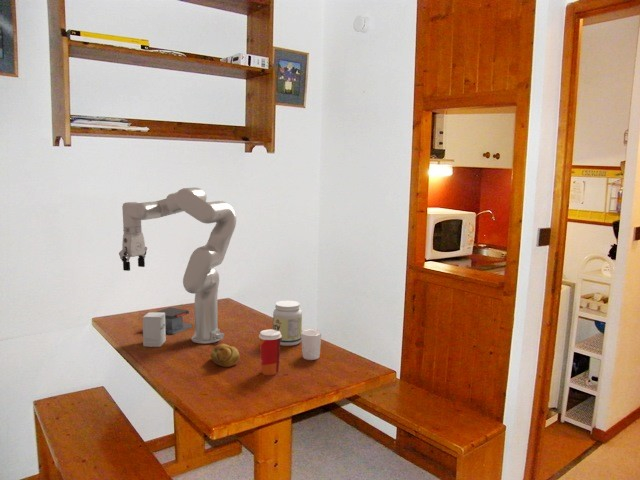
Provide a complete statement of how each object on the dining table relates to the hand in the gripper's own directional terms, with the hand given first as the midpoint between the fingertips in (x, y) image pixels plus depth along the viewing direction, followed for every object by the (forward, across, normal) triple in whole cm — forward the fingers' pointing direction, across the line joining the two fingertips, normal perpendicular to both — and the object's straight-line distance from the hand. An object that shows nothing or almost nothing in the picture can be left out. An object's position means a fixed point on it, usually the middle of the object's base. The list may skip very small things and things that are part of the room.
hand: (134, 268), depth 233 cm
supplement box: (+28, -13, -19) cm, 37 cm away
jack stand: (+28, +7, -14) cm, 32 cm away
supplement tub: (+29, +11, -69) cm, 76 cm away
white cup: (+30, -2, -85) cm, 90 cm away
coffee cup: (+29, -22, -77) cm, 85 cm away
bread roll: (+29, -20, -57) cm, 67 cm away
